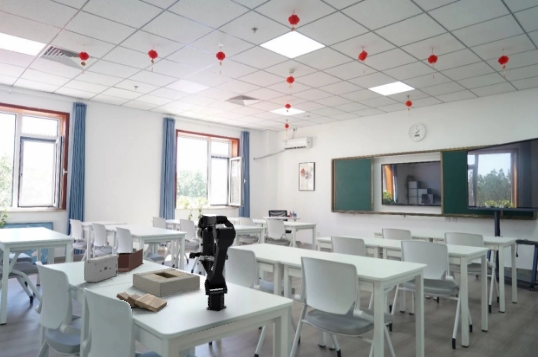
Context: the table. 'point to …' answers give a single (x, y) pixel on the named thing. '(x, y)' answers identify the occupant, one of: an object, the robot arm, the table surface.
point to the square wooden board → (151, 302)
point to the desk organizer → (130, 261)
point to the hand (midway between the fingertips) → (208, 274)
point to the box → (166, 281)
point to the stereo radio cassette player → (100, 267)
